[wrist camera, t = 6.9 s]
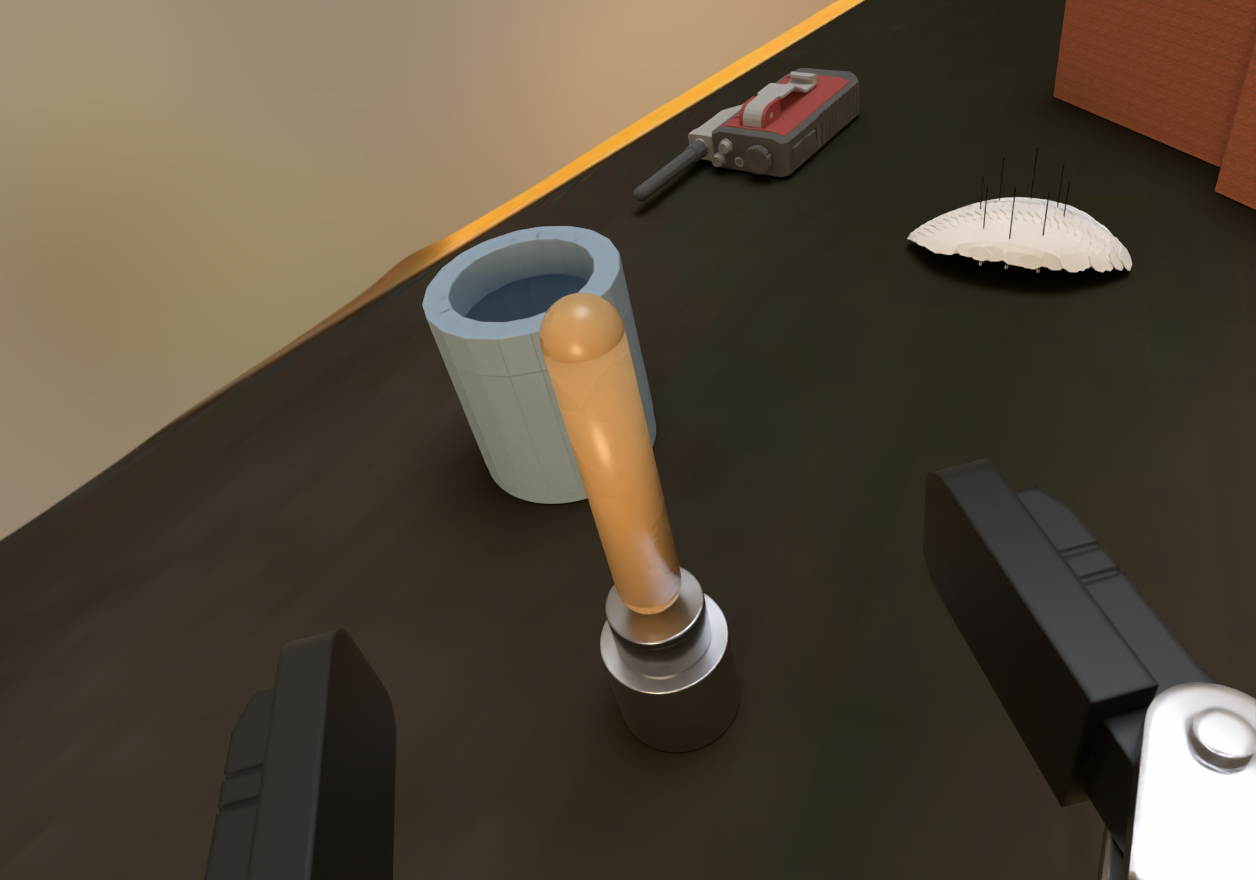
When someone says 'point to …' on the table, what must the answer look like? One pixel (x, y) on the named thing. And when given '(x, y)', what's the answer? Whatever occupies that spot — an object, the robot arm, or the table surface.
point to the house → (1170, 77)
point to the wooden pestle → (637, 541)
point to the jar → (523, 348)
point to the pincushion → (1025, 234)
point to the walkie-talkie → (770, 127)
